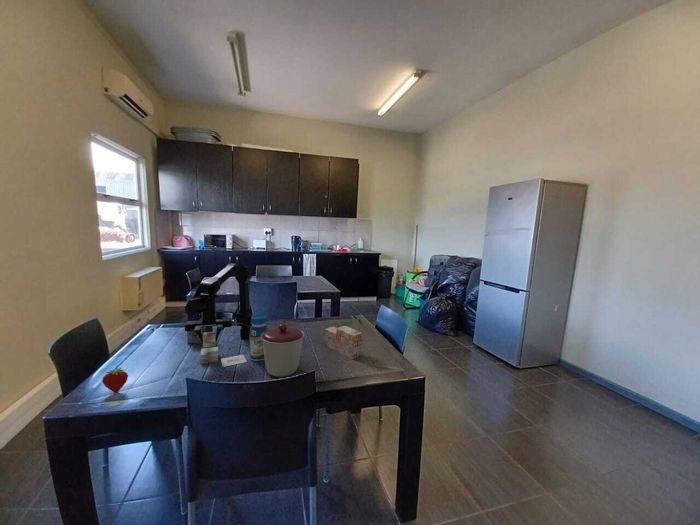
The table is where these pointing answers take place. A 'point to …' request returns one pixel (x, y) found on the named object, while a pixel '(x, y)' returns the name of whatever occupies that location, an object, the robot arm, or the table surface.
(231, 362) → the page
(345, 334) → the stack of blocks
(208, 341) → the beige cube
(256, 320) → the beverage bottle
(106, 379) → the strawberry
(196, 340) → the small box
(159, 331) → the table surface
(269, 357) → the canister
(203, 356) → the tower base
